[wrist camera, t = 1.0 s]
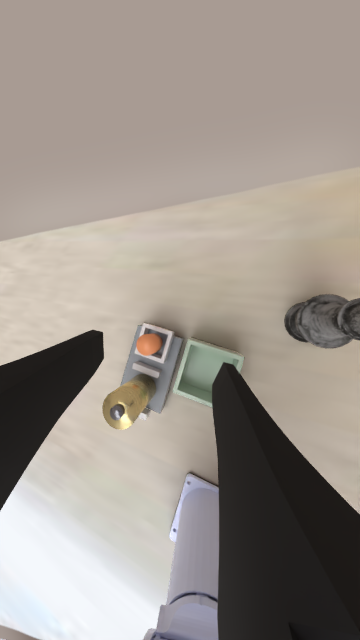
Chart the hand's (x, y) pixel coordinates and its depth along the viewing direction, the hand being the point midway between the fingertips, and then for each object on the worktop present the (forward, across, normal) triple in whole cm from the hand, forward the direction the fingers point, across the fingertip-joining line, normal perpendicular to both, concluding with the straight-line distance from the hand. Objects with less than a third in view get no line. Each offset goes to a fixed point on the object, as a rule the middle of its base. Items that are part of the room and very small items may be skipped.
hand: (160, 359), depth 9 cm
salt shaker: (+13, -17, 0) cm, 21 cm away
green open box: (+10, -6, +9) cm, 15 cm away
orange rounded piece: (+10, +2, +7) cm, 12 cm away
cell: (+7, +2, +14) cm, 16 cm away
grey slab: (+10, +2, +12) cm, 15 cm away
